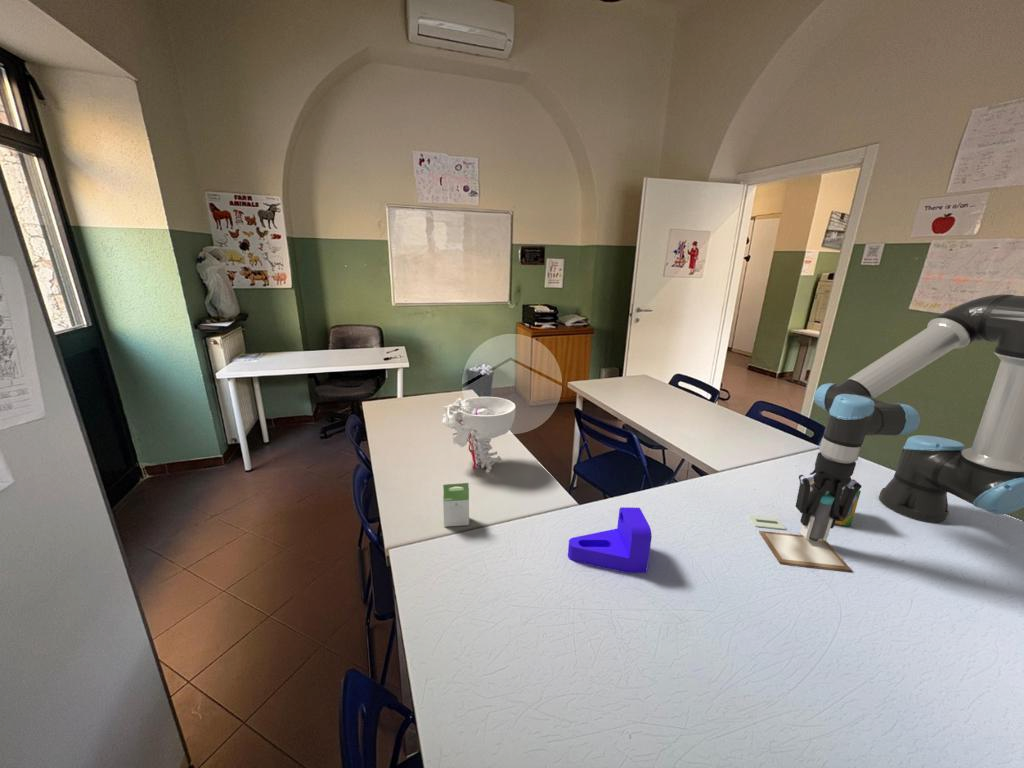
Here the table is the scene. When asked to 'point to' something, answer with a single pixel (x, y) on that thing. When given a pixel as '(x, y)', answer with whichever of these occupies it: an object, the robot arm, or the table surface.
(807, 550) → the brown picture frame
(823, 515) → the marker
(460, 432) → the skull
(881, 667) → the table surface
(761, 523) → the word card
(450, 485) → the ink box
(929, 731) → the table surface
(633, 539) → the bracket
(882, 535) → the table surface
